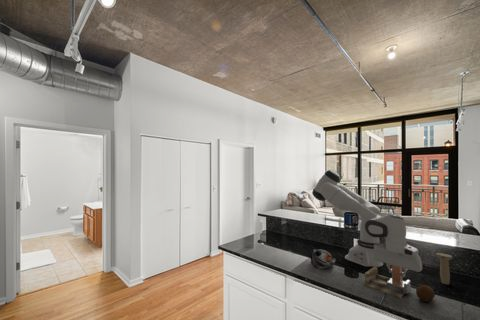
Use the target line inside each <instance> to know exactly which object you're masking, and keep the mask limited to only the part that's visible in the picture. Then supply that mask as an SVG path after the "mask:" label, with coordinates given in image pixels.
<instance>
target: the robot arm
mask: <svg viewBox="0 0 480 320" xmlns="http://www.w3.org/2000/svg"><path fill="white" fill-rule="evenodd" d="M312 197H314V198H315V199H316V200H318V201H321V202H324V201H327V202H328V203H329V204H331V205H332V206H333V207H334V208H336V209H337V210H340V211H344V212H346V211H347V212H352V213H354V214H355V213H356V214H357V215H359V216H360V225H359V238H358V239H357V240H356V243H357V244H356V245H354V246H352V247H351V248H349V250H348V254H345V256H344V259H345V260H347V261H349V262H353V263H355V264H358V265H360V266H363V267H372V268H373V267H377V268H380V267H383V265H384V264H386V267H387V269H388V272H389V274H392V265H394V266H398V267H401V268H402V272H401V276H402V277H403V278H405V277H406V273H407V271H412V272H417V273H420V272H421V271H423V262H422V258H421V256H420V255H419V249H418V248H416V247H414V246H412V245H410V244H408V243H407V239H406V236H407V226H406V221H405V219H404V218H403V217H402V216H401V215H398V214H395V213H386V214H385V215H383V214H382V212H381V209H380V208H379V207H378V206H377V205H375V204H374V203H371V202H370V201H369V200H367V199H365V198H363V197H362V196H361V195H359V194H358V193H357V192H355V191H353V190H352V189H350V188H348V187H347V186H345V185H344V184H341V177H340V174H339V173H337V171H334V170H330V169H328V170H326V171H325V172H324V174H323V175H322V176H321V177H320V178H319V180H318V181H317V183H316V185H315V187H314V188H313V190H312ZM380 238H384V240H385V244H384V243H381V241H380Z"/></svg>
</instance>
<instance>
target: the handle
mask: <svg viewBox="0 0 480 320" xmlns="http://www.w3.org/2000/svg"><path fill="white" fill-rule="evenodd" d="M435 256H436V257H437V258H438V259H439V277H440V282H441V283H442V284H444V285H450V282H451V281H450V280H451V273H450V265H449V263H450V262H449V261H450V260H452V259H453V255H451V254H446V253H441V252H436V253H435Z"/></svg>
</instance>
